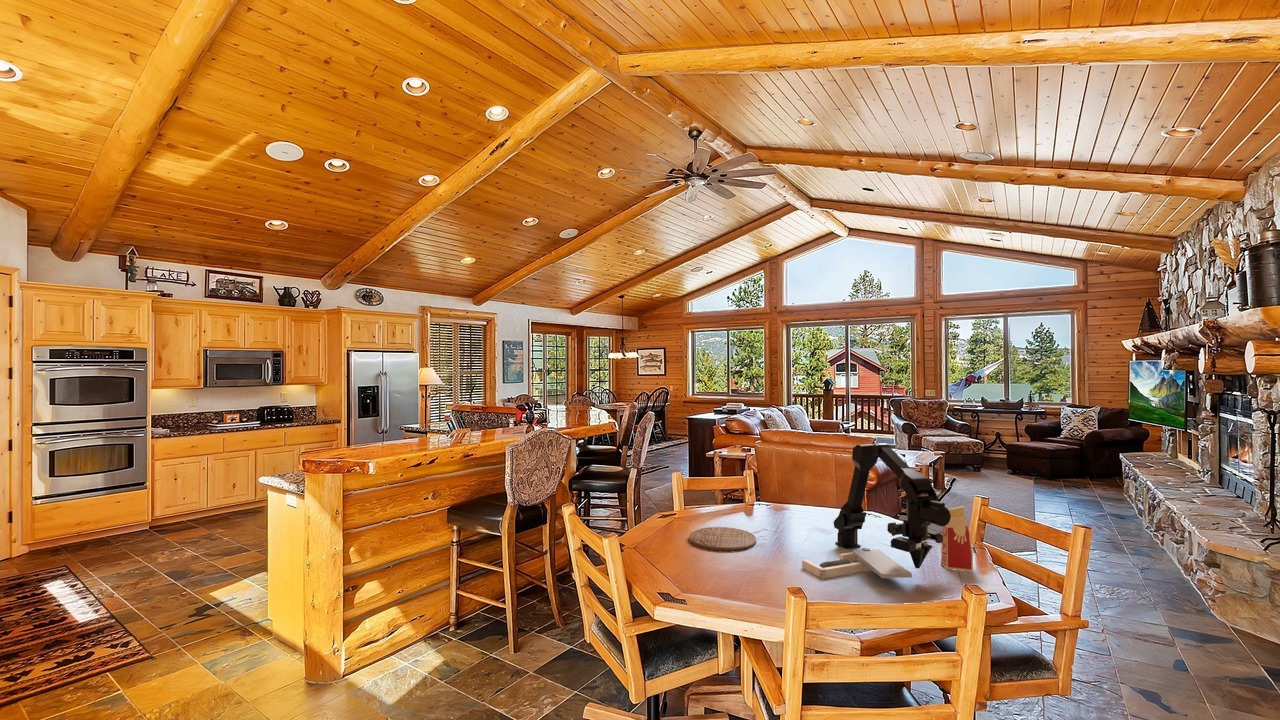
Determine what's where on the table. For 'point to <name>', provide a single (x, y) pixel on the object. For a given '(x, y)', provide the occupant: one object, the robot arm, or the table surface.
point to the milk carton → (957, 542)
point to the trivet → (722, 539)
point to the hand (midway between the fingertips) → (917, 568)
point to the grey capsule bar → (834, 563)
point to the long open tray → (836, 567)
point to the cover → (881, 564)
